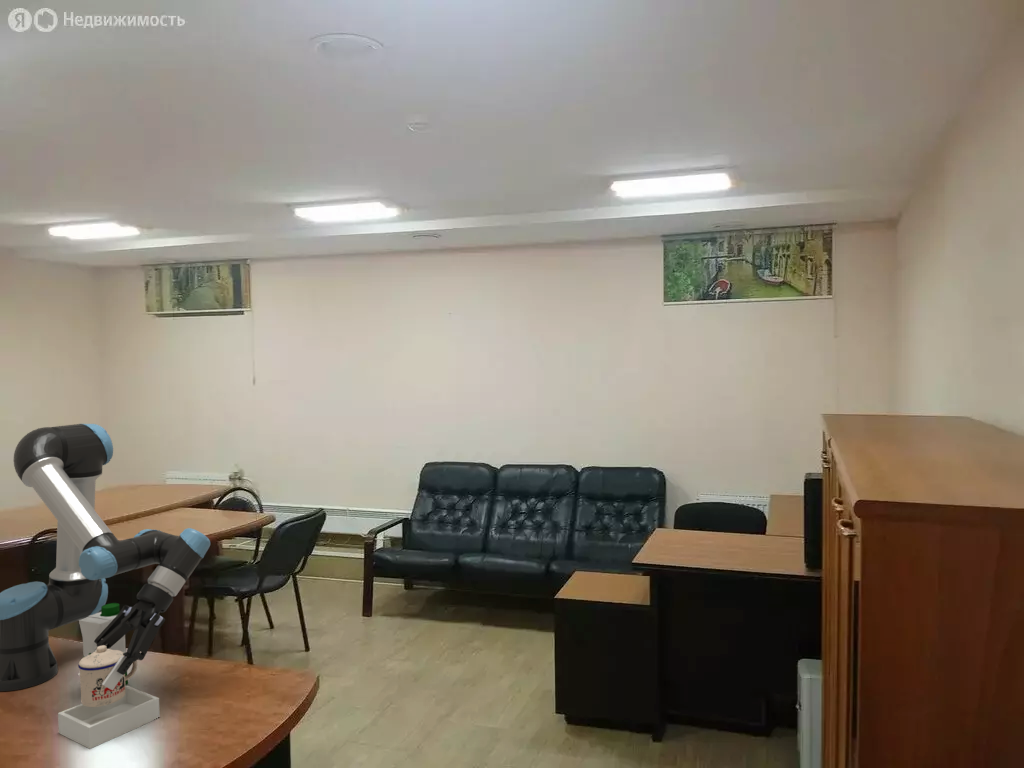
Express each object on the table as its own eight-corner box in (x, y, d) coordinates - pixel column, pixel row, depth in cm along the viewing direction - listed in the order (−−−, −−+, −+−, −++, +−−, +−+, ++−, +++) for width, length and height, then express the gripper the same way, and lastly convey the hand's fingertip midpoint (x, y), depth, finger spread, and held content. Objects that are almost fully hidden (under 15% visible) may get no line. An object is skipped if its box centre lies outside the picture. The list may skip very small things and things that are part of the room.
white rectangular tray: (58, 733, 161) (58, 713, 161) (128, 704, 174) (127, 685, 174) (89, 748, 155) (89, 727, 154) (159, 717, 168) (159, 698, 168)
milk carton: (134, 682, 186) (131, 604, 185) (102, 698, 178) (99, 616, 177) (109, 677, 190) (106, 600, 189) (76, 692, 181) (73, 612, 180)
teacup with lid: (91, 712, 157) (89, 658, 156) (72, 701, 162) (70, 649, 162) (147, 691, 166) (145, 640, 166) (127, 681, 172) (125, 631, 171)
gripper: (199, 605, 171) (135, 700, 158) (144, 591, 182) (81, 679, 169) (177, 589, 166) (109, 686, 153) (122, 575, 178) (56, 664, 165)
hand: (95, 682), depth 161 cm, fingers closed on teacup with lid, 9 cm apart
